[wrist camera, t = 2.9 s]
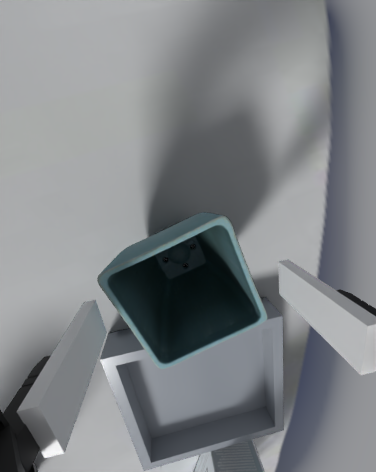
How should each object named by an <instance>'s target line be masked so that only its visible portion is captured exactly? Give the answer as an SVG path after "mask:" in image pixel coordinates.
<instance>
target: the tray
mask: <svg viewBox="0 0 376 472" xmlns="http://www.w3.org/2000/svg"><path fill="white" fill-rule="evenodd" d="M261 301H262V303H263V306H264V308H265V310H266V313H267V317H268V318H267V320H266V321H264V322H263V323H262V324H260V325H259V326H256V327H254V328H252V329H250V330H248V331H246V332H244V333H241V334H239V335H237V336H235V337H233V338H230V339H228V340H226V341H224V342H221V343H219V344H217V345H215V346H213V347H211V348H209V349H207V350H204V351H202V352H200V353H199V354H196V355H194V356H192V357H190V358H188V359H186V360H184V361H182V362H180V363H178V364H176V365H174V366H172V367H169V368H165V369H160V368H158V367H157V366H156V365H155V364H154V362H153V361H152V359H151V358H150V356H149V355H148V353H147V352H146V350H145V349H144V348H143V346H142V345H141V343H140V342H139V340H138V339H137V337H136V336H135V335H134V333H133V332H132V330H131V329H126V330H121V331H117V332H113V333H108V336H107V339H106V343H105V346H104V349H103V352H102V355H101V359H100V361H101V363H102V366H103V369H104V371H105V374H106V376H107V379H108V381H109V384H110V386H111V389H112V391H113V394H114V396H115V399H116V401H117V404H118V407H119V409H120V412H121V414H122V417H123V419H124V422H125V424H126V427H127V429H128V432H129V434H130V437H131V439H132V442H133V445H134V447H135V450H136V452H137V455H138V457H139V460H140V462H141V465H142V467H143V470H144V471H145V470H149V469H152V468H155V467H159V466H162V465H166V464H169V463H173V462H176V461H179V460H183V459H186V458H190V457H193V456H196V455H200V454H203V453H207V452H210V451H214V450H217V449H220V448H224V447H227V446H231V445H234V444H237V443H241V442H244V441H248V440H251V439H255V438H258V437H261V436H265V435H268V434H272V433H275V432H278V431H282V430H284V405H283V316H282V315H281V314H280V312H279V311H278V310H277V309H276V308H275V307H274V306H273V304H272V303H271V302H270V301H269V300H268V299H267V298H266V297H265V298H261Z"/></svg>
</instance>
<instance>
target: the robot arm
mask: <svg viewBox="0 0 376 472" xmlns="http://www.w3.org/2000/svg"><path fill="white" fill-rule="evenodd" d="M278 265H279V294H280V295H281V296H282V297H283V298H284V299H285V300H286V301H287V302H288V303H289V304H290V305H291V306H292V307H293V308H294V309H295V310H296V311H297V312H298V313H299V314H300V315H301V316H302V317H303V318H304V319H305V320H306V321H307V322H308V323H309V324H310V325H311V326H312V327H313V328H314V329H315V330H316V331H317V332H318V333H319V334H320V335H321V336H322V337H323V338H324V339H325V340H326V341H327V342H328V343H329V344H330V345H331V346H332V347H333V348H334V349H335V350H336V351H337V352H338V353H339V354H340V355H341V356H342V357H343V358H344V359H345V360H346V361H347V362H348V363H349V364H350V365H351V366H352V367H353V368H354V369H355V370H356V371H357V372H358V373H359V374H360V375H364V374H368V373H372V372H375V371H376V309H375V308H374V307H372V306H370V305H368V304H367V303H366V302H364V301H361V300H360V299H359V298H357V297H356V296H354V295H353V294H351V293H348V292H345V291H343V290H334V289H333V288H331V287H330V286H328V285H327V284H325V283H324V282H322V281H320V280H319V279H317V278H316V277H314V276H313V275H311V274H310V273H308V272H307V271H305V270H304V269H302V268H301V267H299V266H297V265H296V264H294V263H293V262H291V261H290V260H284V261H279V262H278ZM106 333H107V332H106V329H105V326H104V323H103V320H102V317H101V314H100V312H99V309H98V306H97V303H96V300H93V301H88V302H84V303H83V305H82V306H81V308H80V310H79V311H78V313H77V314H76V316H75V318H74V319H73V321H72V322H71V324H70V326H69V327H68V329H67V331H66V332H65V334H64V335H63V337H62V339H61V340H60V342H59V344H58V345H57V347H56V348H55V350H54V352H53V353H52V355H51V356H46V357H44V358H43V359H42V360H41V361H40V362H39V363H38V364H37V365H36V366H35V367H34V368H33V370H32V371H31V373H30V374H29V376H28V379H26V380H25V382H24V383H23V385H22V388H20V389H19V391H18V392H17V394H16V395H15V397H14V398H13V400H12V401H11V403H10V404H9V406H8V407H7V409H6V410H5V412H4V413H3V414H2V412H1V410H0V472H38V471H37V467H36V465H35V464H34V460H35V458H36V456H37V453H38V451H39V449H40V451H41V453H42V454H43V456H44V458H48V457H52V456H55V455H59V454H63V453H65V450H66V447H67V444H68V441H69V439H70V436H71V433H72V430H73V427H74V424H75V421H76V419H77V416H78V413H79V410H80V407H81V404H82V401H83V399H84V396H85V393H86V390H87V387H88V384H89V382H90V379H91V376H92V373H93V370H94V367H95V364H96V362H97V359H98V356H99V353H100V350H101V347H102V345H103V342H104V339H105V336H106Z"/></svg>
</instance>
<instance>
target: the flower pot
mask: <svg viewBox="0 0 376 472" xmlns="http://www.w3.org/2000/svg"><path fill="white" fill-rule="evenodd" d="M192 244H194V245H195V248H193V249H192V248H191V247H190V246H191V245H192ZM165 257H167V258H168V261H164V260H163V259H164V258H165ZM184 263H187V264H188V266H187V267H183V264H184ZM98 283H99V285H100V287H101V288H102V290H103V291H104V293H105V294H106V295H107V297H108V298H109V300H110V301H111V302H112V304H113V305H114V306H115V308H116V309H117V310H118V312H119V313H120V315H121V316H122V318H123V319H124V321H125V322H126V323H127V325H128V326H129V328H130V329H131V330H132V332H133V333H134V335H135V336H136V337H137V339H138V340H139V342H140V343H141V345H142V346H143V348H144V349H145V350H146V352H147V353H148V355H149V356H150V358H151V359H152V361H153V362H154V364H155V365H156V366H157V367H158V368H160V369H165V368H169V367H172V366H174V365H176V364H178V363H180V362H182V361H184V360H186V359H188V358H190V357H192V356H194V355H196V354H199V353H200V352H202V351H204V350H207V349H209V348H211V347H213V346H215V345H217V344H219V343H221V342H224V341H226V340H228V339H230V338H233V337H235V336H237V335H239V334H241V333H244V332H246V331H248V330H250V329H252V328H254V327H256V326H259V325H260V324H262V323H263V322H264V321H266V320H267V318H268V317H267V313H266V310H265V308H264V306H263V303H262V301H261V298H260V296H259V294H258V291H257V289H256V287H255V284H254V282H253V279H252V277H251V274H250V271H249V269H248V266H247V264H246V261H245V258H244V256H243V253H242V251H241V248H240V245H239V242H238V240H237V237H236V234H235V232H234V228H233V225H232V224H231V222H230V220H229V219H228V218H227V217H226V216H222V215H217V214H212V213H206V212H203V213H199V214H196V215H194V216H192V217H190V218H188V219H186V220H184V221H182V222H180V223H178V224H175V225H173V226H171V227H169V228H167V229H165V230H163V231H161V232H159V233H157V234H155V235H152V236H150V237H148V238H146V239H144V240H142V241H140V242H137V243H135V244H133V245H131V246H129V247H127V248H126V249H124V250H123V251H122V252H121V253H120V254H119V255H118V256H117V257H116V258H115V259H114V260H113V261H112V262H111V263H110V264H109V265H108V266H107V267H106V268H105V269H104V270H103V271H102V273H101V274H100V275H99V276H98Z"/></svg>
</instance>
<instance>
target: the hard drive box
mask: <svg viewBox="0 0 376 472" xmlns="http://www.w3.org/2000/svg"><path fill="white" fill-rule="evenodd" d="M194 472H265V471H264V468H263V465H262V463H261V460H260V457H259V455H258V452H257V449H256V446H255V444H254V441H253V439H251V440H248V441H244V442H241V443H237V444H234V445H231V446H227V447H224V448H220V449H217V450H214V451H210V452H207V453H203V454H200V457H199V460H198V462H197V465H196V468H195V471H194Z"/></svg>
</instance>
